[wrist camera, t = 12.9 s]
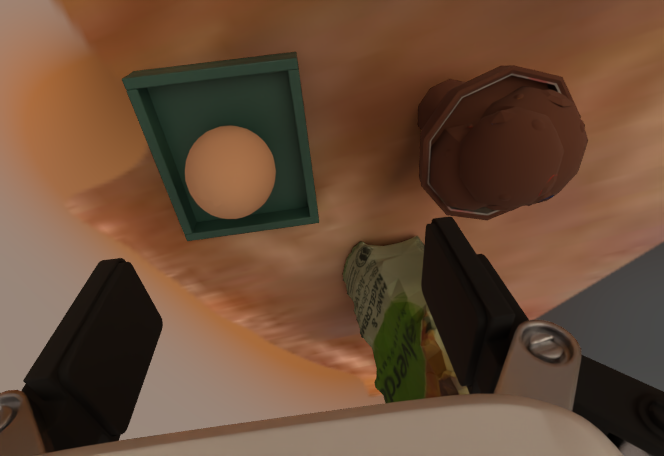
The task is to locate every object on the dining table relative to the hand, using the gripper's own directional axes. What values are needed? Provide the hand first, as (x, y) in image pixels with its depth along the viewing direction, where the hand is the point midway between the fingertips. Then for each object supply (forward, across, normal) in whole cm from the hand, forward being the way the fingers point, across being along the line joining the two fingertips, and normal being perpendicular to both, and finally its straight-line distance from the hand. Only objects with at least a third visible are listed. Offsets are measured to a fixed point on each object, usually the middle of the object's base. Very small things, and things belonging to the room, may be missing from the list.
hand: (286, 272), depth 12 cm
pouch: (+22, -8, +21) cm, 31 cm away
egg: (+22, +5, +5) cm, 23 cm away
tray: (+22, +5, +5) cm, 23 cm away
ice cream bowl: (+23, -14, +4) cm, 27 cm away
